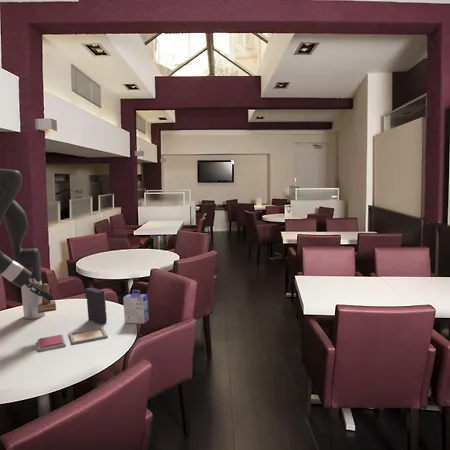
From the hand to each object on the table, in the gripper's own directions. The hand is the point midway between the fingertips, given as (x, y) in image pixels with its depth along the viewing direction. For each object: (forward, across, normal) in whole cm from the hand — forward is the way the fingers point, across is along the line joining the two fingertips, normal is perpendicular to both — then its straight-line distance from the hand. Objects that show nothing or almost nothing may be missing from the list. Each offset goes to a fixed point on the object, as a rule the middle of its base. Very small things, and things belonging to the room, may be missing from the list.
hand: (51, 297), depth 183 cm
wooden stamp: (+2, 0, +5) cm, 5 cm away
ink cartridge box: (+36, -3, -13) cm, 39 cm away
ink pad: (+10, -12, +12) cm, 20 cm away
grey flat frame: (+20, -10, +2) cm, 23 cm away
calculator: (+25, +7, -2) cm, 26 cm away
